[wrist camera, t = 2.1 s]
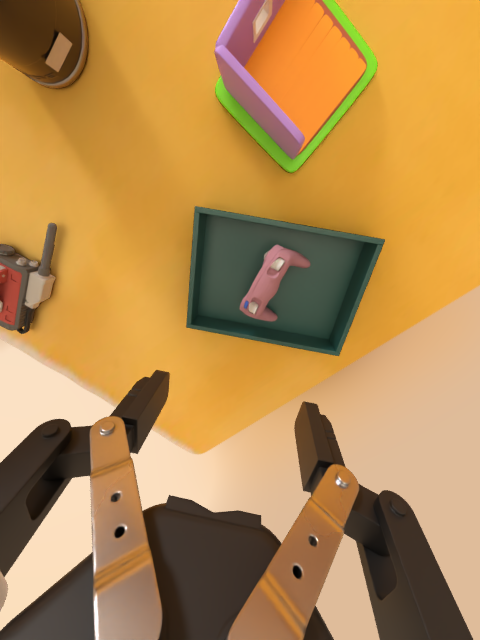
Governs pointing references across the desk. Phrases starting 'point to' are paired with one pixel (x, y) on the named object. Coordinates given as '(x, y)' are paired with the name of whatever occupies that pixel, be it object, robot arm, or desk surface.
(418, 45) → the desk surface
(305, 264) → the video game controller
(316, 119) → the dollhouse room
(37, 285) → the walkie-talkie
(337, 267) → the tray
